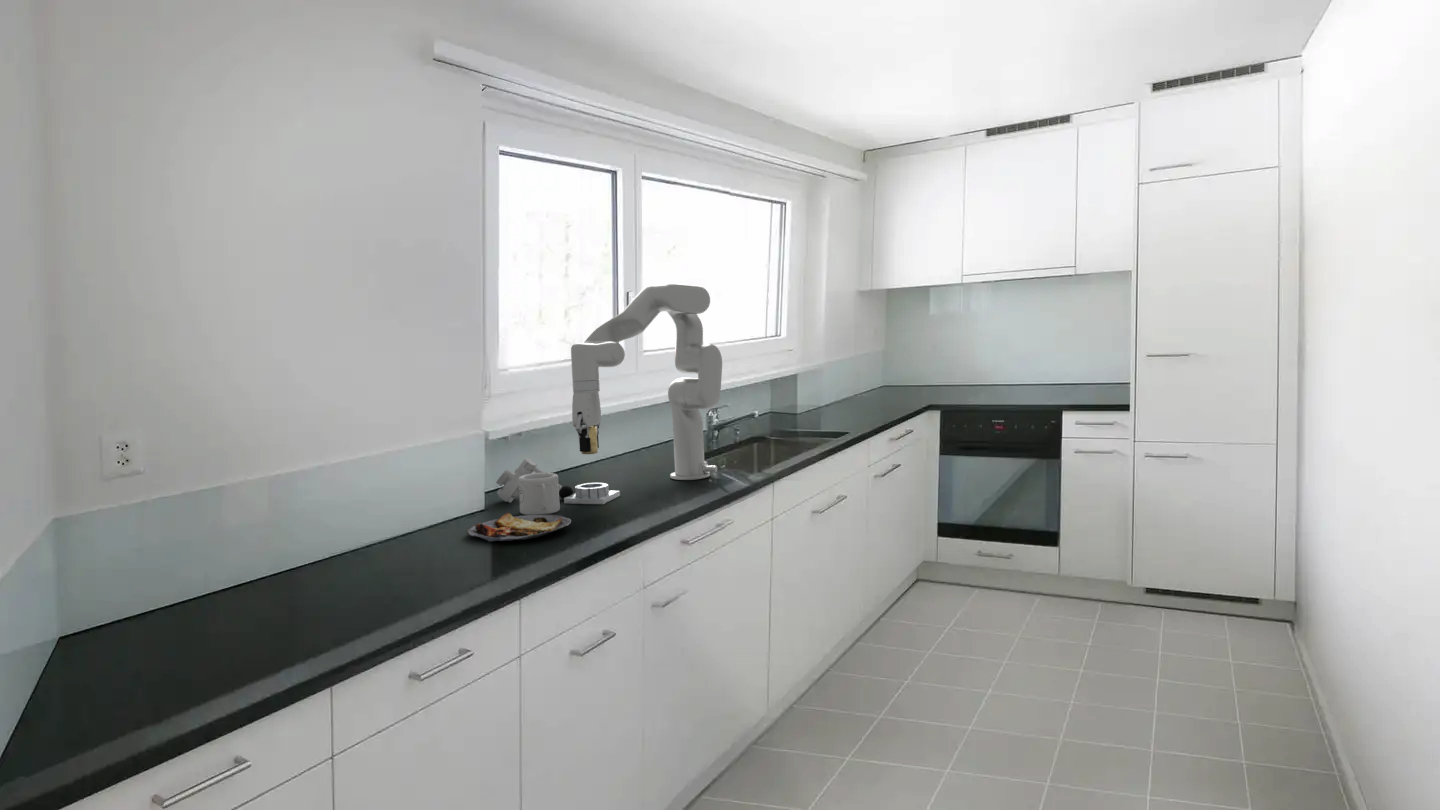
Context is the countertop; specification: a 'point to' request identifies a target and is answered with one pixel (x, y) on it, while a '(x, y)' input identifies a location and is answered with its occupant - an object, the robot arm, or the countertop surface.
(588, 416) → the robot arm
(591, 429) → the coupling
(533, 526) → the food plate
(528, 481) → the mug
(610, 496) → the flange plate
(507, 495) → the valve
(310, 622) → the countertop surface
